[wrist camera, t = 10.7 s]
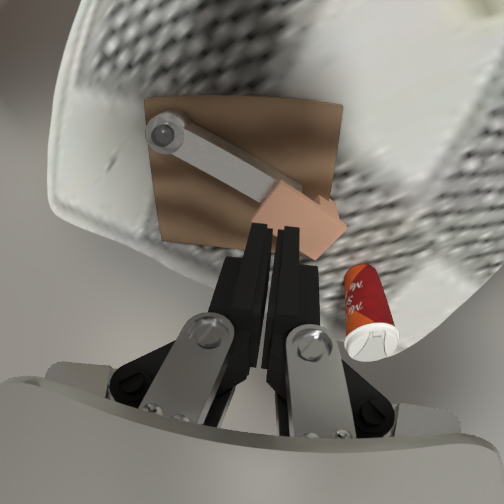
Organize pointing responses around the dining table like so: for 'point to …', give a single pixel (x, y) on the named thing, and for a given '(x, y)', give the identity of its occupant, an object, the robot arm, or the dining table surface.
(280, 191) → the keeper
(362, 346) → the paper cup
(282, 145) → the board
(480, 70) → the dining table surface
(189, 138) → the link
